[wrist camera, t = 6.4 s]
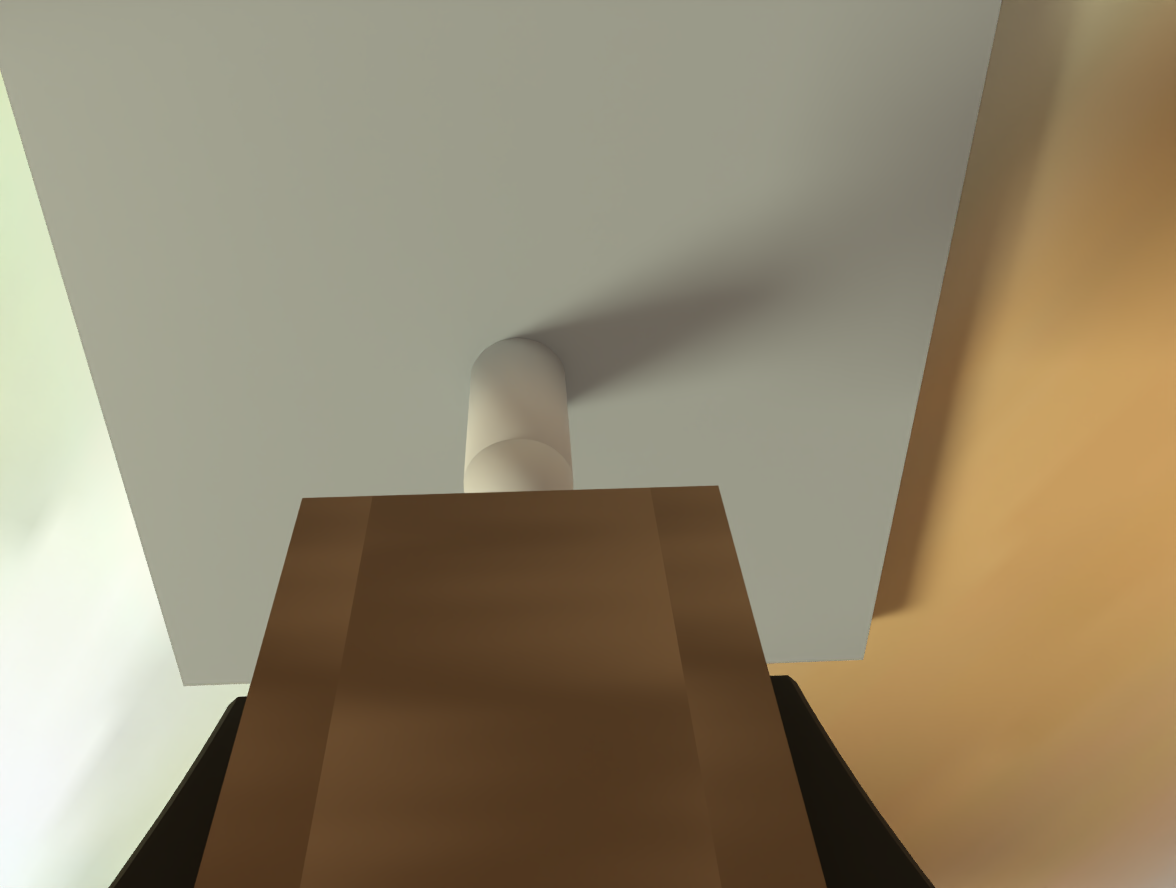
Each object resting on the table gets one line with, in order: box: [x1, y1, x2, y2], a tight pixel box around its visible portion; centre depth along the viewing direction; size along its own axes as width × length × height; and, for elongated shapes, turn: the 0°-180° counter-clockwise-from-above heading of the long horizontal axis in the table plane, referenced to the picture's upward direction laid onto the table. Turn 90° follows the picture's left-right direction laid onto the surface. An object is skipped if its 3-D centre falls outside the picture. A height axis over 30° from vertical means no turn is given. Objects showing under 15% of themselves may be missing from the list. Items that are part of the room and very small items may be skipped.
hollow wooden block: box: [194, 485, 827, 888], centre depth 10 cm, size 4×4×6 cm
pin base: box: [0, 0, 1002, 686], centre depth 17 cm, size 14×14×5 cm
